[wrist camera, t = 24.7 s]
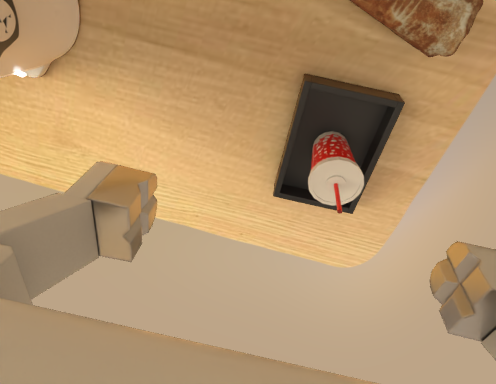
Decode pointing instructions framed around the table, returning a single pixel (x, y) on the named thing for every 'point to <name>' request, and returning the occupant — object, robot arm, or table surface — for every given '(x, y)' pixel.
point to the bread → (426, 21)
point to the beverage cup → (334, 171)
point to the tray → (337, 120)
